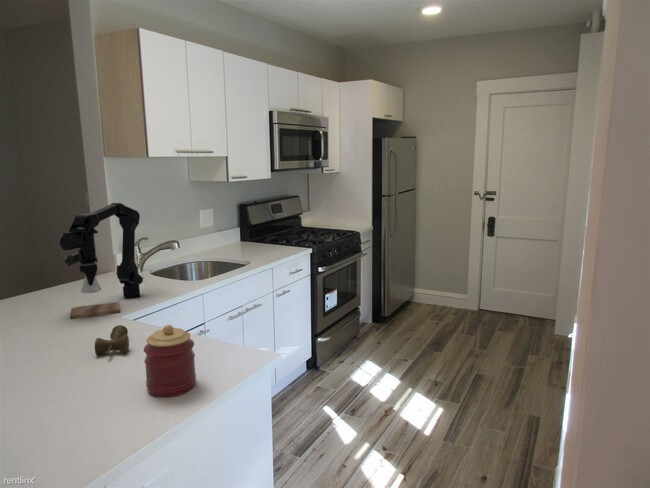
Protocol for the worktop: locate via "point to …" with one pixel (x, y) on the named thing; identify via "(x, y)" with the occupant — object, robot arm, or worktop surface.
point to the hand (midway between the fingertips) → (90, 283)
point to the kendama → (113, 341)
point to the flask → (90, 286)
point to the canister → (169, 362)
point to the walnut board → (94, 310)
